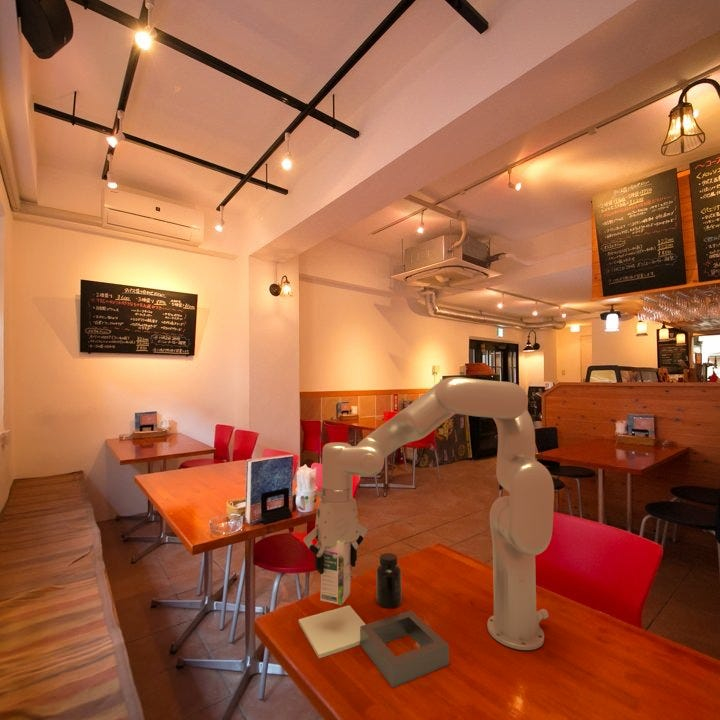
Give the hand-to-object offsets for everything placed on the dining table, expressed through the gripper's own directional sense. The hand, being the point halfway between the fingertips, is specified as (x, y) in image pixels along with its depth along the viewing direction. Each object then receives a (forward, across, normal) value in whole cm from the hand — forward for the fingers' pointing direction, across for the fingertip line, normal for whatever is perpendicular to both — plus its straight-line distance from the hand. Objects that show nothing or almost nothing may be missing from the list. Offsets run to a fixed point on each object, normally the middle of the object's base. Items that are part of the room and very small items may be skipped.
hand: (335, 567), depth 93 cm
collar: (+15, +10, -14) cm, 23 cm away
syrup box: (+7, 0, 0) cm, 7 cm away
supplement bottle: (+15, +18, +5) cm, 24 cm away
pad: (+15, 0, 0) cm, 15 cm away
